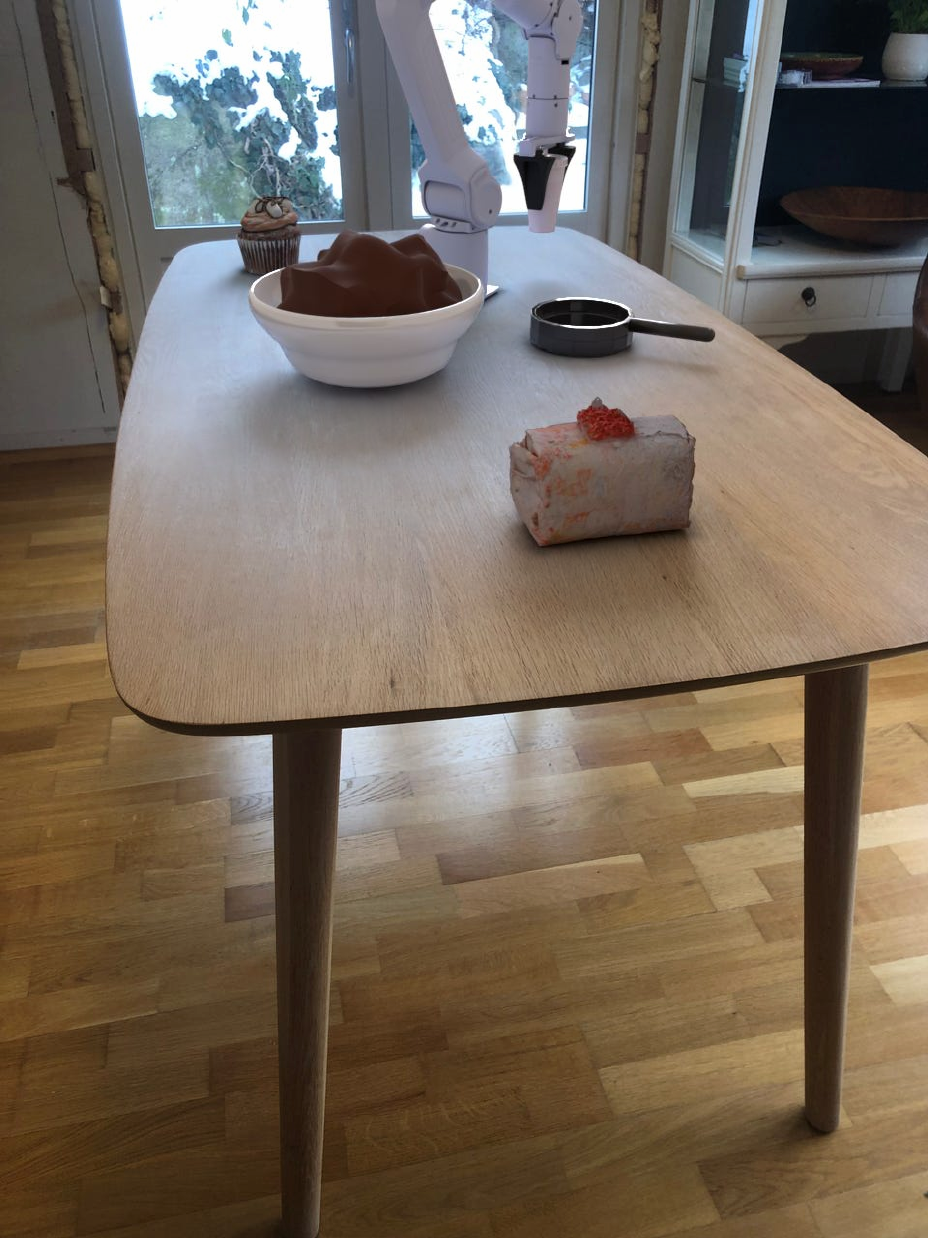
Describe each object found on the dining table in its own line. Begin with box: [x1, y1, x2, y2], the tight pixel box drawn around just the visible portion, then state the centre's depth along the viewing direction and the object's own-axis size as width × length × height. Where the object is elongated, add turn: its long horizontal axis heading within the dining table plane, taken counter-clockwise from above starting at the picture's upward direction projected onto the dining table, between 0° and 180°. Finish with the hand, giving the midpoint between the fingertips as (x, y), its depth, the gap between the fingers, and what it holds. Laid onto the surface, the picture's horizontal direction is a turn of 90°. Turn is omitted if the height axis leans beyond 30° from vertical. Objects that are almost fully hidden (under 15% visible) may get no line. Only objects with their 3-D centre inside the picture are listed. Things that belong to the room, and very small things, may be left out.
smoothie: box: [527, 149, 568, 234], centre depth 134 cm, size 6×6×14 cm
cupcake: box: [235, 194, 303, 276], centre depth 141 cm, size 10×10×10 cm
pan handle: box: [629, 317, 716, 343], centre depth 110 cm, size 11×2×2 cm, turn 65°
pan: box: [529, 297, 636, 358], centre depth 114 cm, size 12×12×4 cm
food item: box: [508, 396, 697, 547], centre depth 74 cm, size 14×8×10 cm, turn 102°
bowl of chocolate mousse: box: [247, 229, 485, 389], centre depth 102 cm, size 25×25×15 cm
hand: (542, 205), depth 136 cm, fingers closed on smoothie, 6 cm apart
